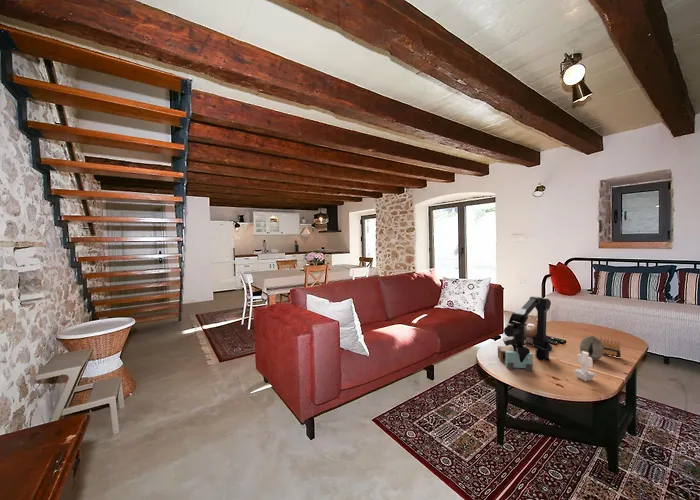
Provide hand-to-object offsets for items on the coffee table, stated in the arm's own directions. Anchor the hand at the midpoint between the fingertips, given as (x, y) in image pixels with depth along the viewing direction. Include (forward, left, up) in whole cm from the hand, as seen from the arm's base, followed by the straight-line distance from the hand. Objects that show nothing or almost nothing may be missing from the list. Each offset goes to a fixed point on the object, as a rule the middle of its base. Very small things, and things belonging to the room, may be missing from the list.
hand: (518, 358), depth 175 cm
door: (0, 0, -5) cm, 5 cm away
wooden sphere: (-22, -44, -6) cm, 50 cm away
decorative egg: (-48, -21, -6) cm, 53 cm away
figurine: (-31, +7, -6) cm, 32 cm away
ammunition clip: (-62, -29, -6) cm, 69 cm away
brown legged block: (0, -6, -6) cm, 8 cm away
